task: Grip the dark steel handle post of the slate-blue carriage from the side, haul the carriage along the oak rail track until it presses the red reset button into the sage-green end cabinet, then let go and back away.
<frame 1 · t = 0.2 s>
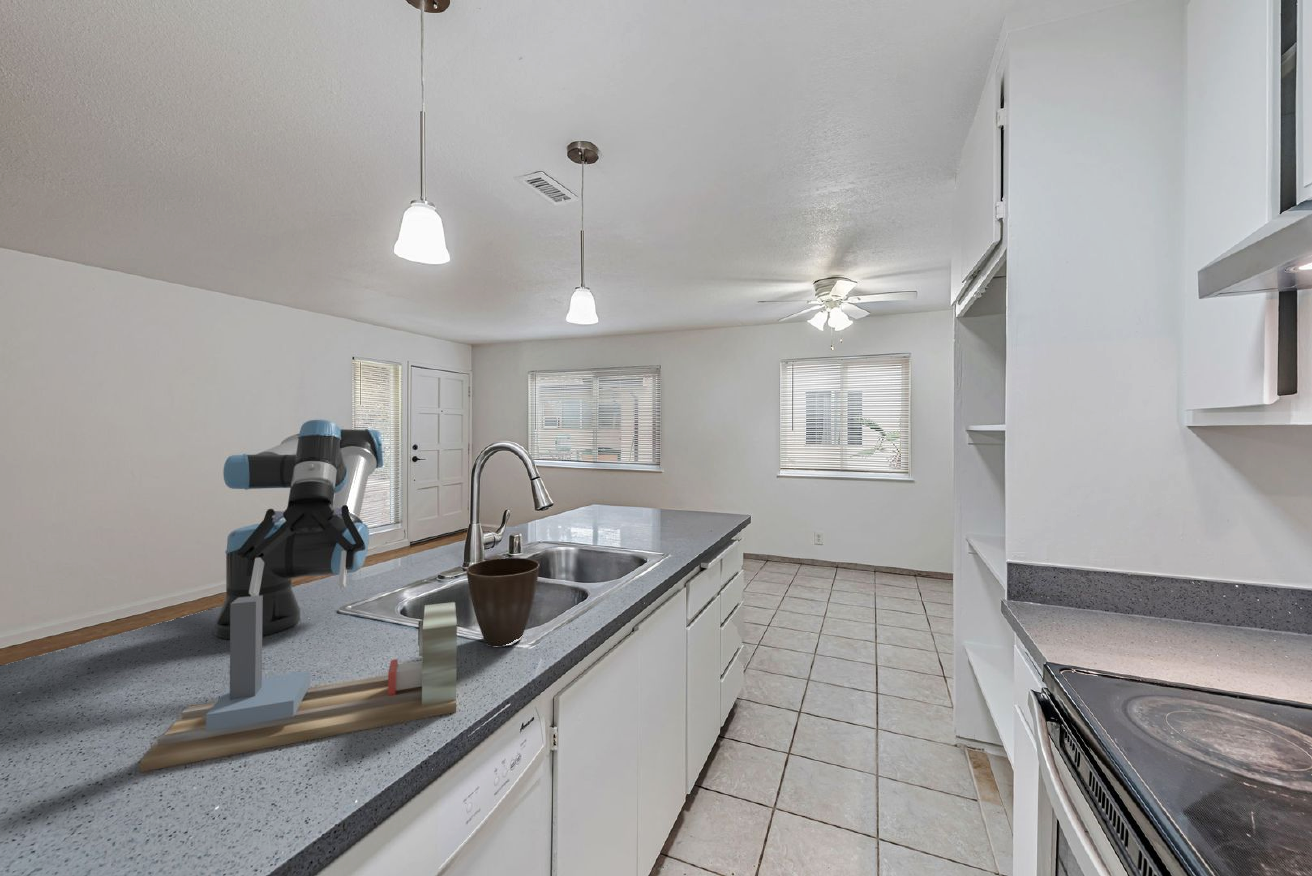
hand: (299, 590, 93), 15 cm above the countertop, tool tilted 35°, fingers open, 13 cm apart
carriage: (262, 652, 76), point 11 cm above the countertop, slide at 0.0 cm
reset button: (413, 674, 84), point 4 cm above the countertop, slide at 0.0 cm
plant pot: (502, 641, 108), on the countertop
rail track: (324, 714, 79), on the countertop
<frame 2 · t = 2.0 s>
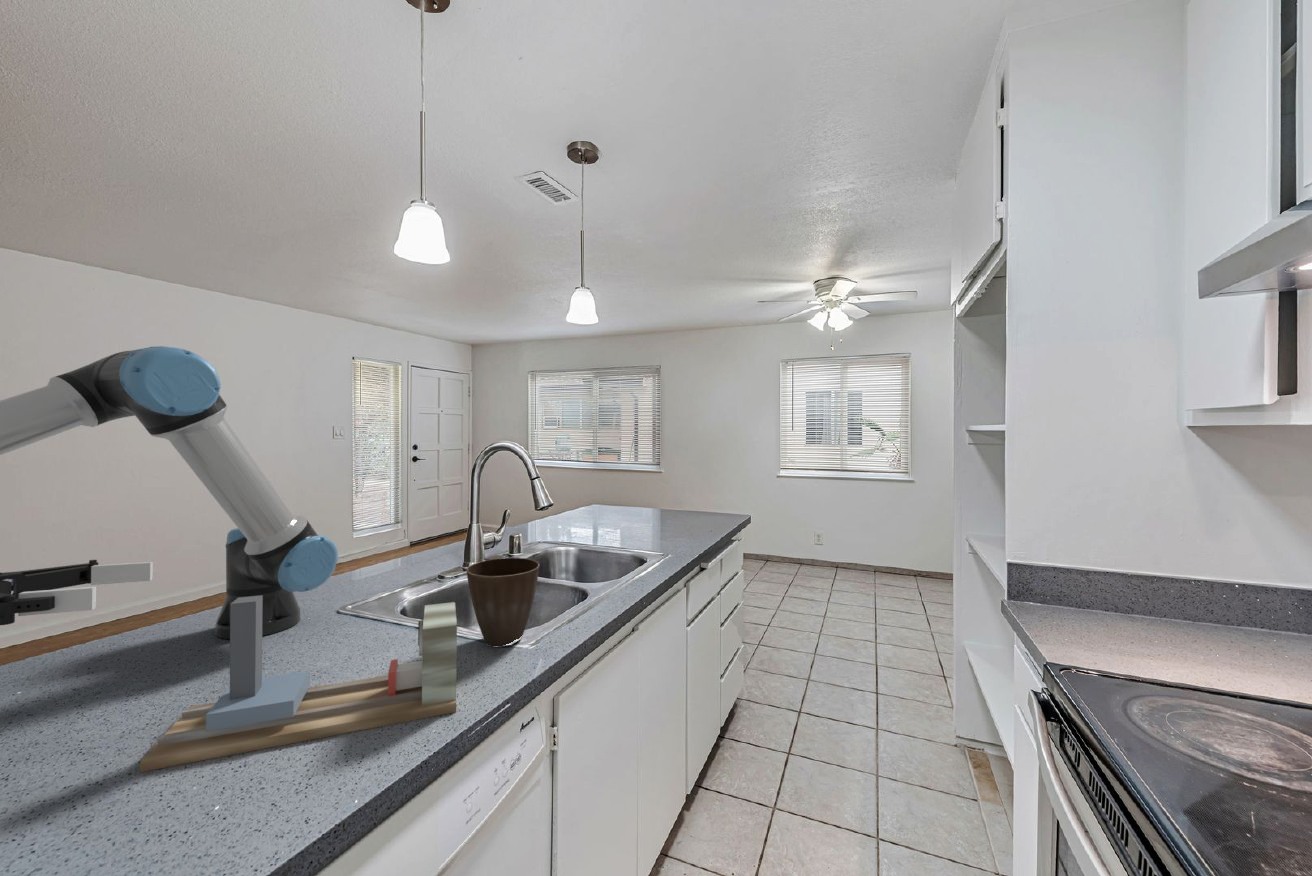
hand: (125, 583, 69), 23 cm above the countertop, tool horizontal, fingers open, 13 cm apart
nothing on the countertop moved.
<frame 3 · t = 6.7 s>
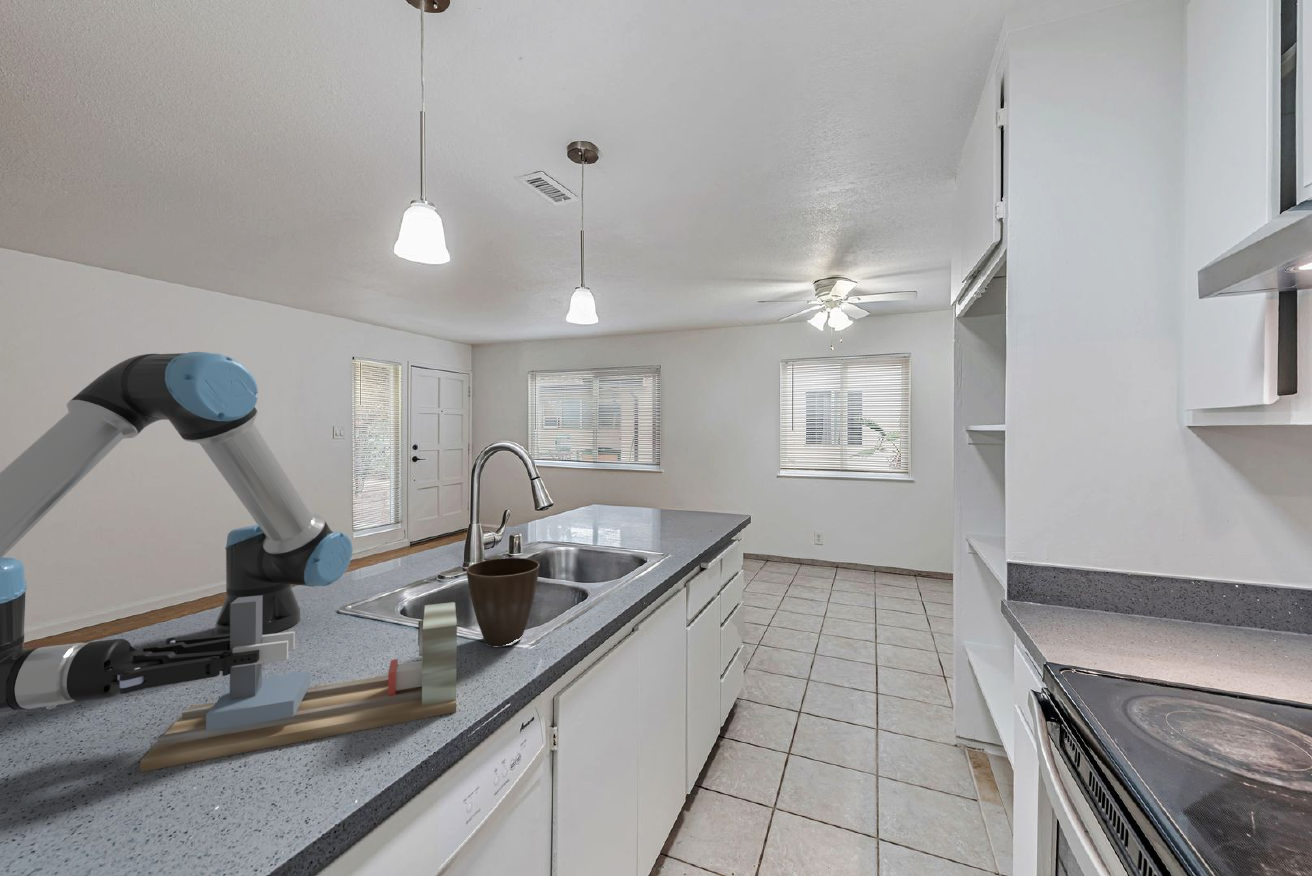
hand: (290, 645, 77), 12 cm above the countertop, tool horizontal, fingers closed on carriage, 3 cm apart
carriage: (262, 652, 76), point 11 cm above the countertop, slide at 0.0 cm, touching gripper
everything else where it was.
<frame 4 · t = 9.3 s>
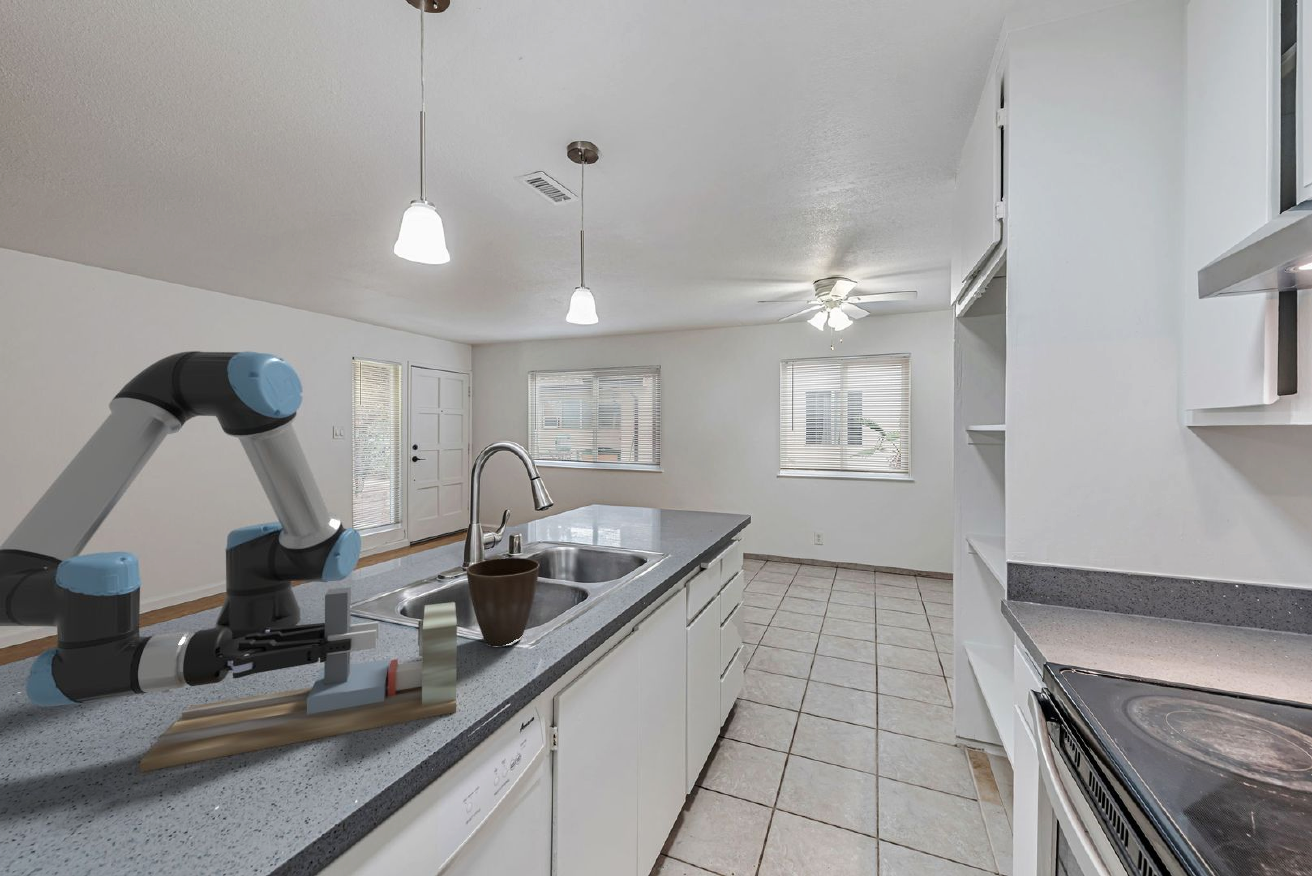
hand: (377, 634, 82), 12 cm above the countertop, tool horizontal, fingers closed on carriage, 3 cm apart
carriage: (352, 640, 80), point 11 cm above the countertop, slide at 11.7 cm, touching gripper
everything else where it was.
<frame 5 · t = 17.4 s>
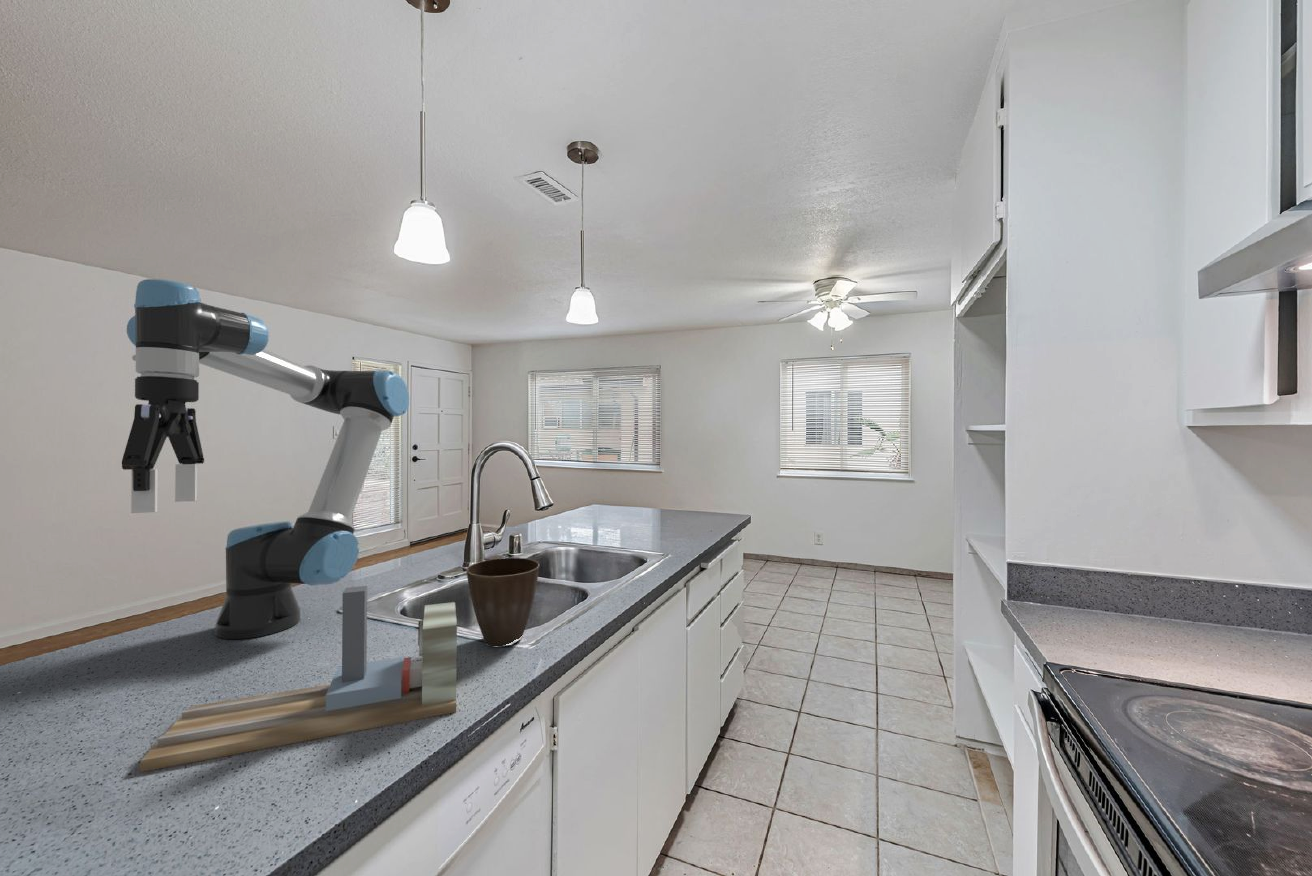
hand: (166, 506, 83), 32 cm above the countertop, tool pointing down, fingers open, 13 cm apart
carriage: (369, 638, 81), point 11 cm above the countertop, slide at 14.0 cm, touching reset button
reset button: (426, 672, 85), point 4 cm above the countertop, slide at 2.0 cm, touching carriage
everything else where it was.
at the end: carriage slide at 14.0 cm; reset button slide at 2.0 cm; the gripper is holding nothing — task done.
